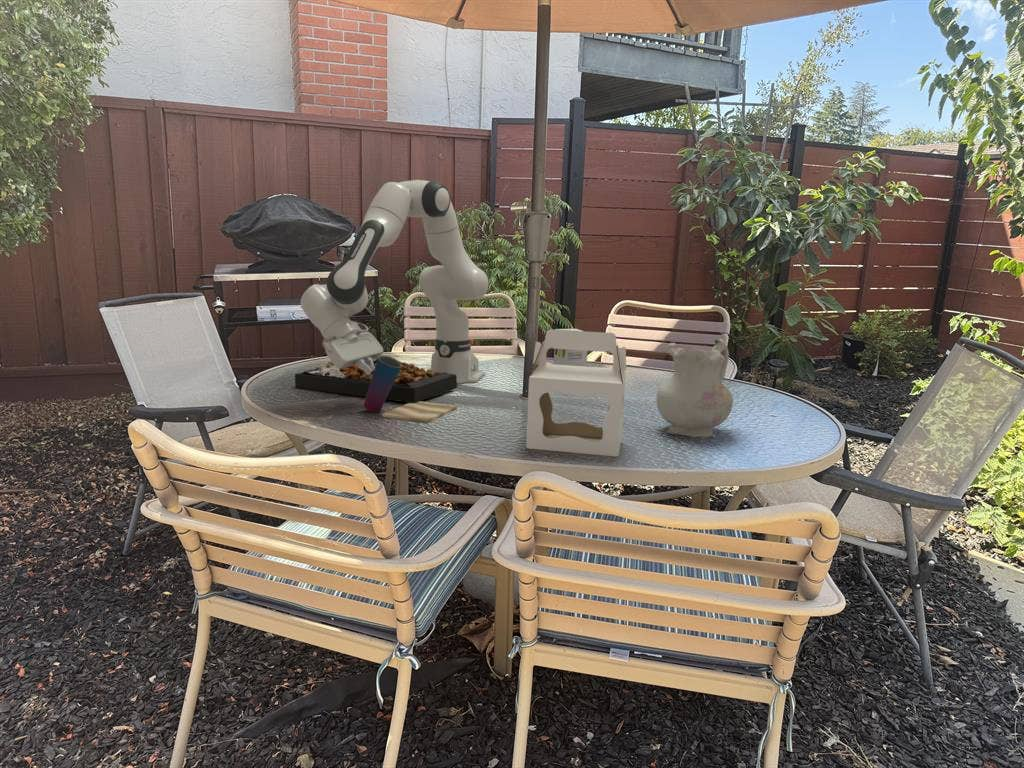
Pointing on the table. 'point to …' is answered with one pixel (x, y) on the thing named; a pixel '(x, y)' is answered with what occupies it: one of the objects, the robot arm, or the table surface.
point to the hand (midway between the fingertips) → (372, 373)
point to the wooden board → (420, 411)
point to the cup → (381, 382)
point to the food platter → (355, 381)
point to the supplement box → (570, 355)
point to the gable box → (577, 384)
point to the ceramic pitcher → (696, 391)
